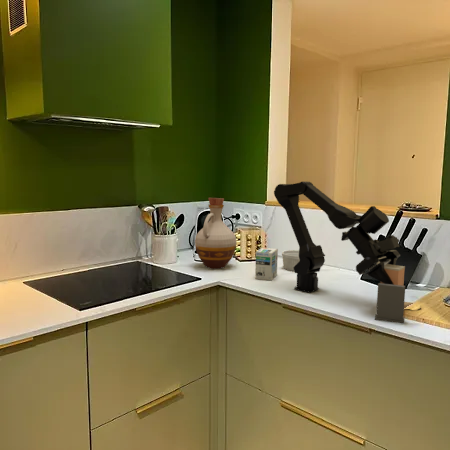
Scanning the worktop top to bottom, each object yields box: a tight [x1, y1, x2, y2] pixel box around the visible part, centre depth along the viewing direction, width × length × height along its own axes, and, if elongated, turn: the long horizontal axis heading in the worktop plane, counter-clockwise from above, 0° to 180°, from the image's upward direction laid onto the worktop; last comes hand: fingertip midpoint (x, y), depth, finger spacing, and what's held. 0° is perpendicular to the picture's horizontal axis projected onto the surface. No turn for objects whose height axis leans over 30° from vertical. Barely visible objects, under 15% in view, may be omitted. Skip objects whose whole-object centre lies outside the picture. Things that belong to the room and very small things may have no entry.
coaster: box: [404, 301, 414, 308], centre depth 129 cm, size 7×7×1 cm
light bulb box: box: [254, 247, 279, 281], centre depth 164 cm, size 11×7×11 cm, turn 161°
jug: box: [194, 197, 237, 270], centre depth 178 cm, size 20×18×30 cm
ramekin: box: [281, 249, 300, 272], centre depth 179 cm, size 13×13×7 cm
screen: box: [374, 282, 406, 325], centre depth 116 cm, size 8×3×10 cm, turn 67°
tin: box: [380, 264, 406, 286], centre depth 125 cm, size 5×5×13 cm
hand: (396, 284), depth 124 cm, fingers closed on tin, 5 cm apart
